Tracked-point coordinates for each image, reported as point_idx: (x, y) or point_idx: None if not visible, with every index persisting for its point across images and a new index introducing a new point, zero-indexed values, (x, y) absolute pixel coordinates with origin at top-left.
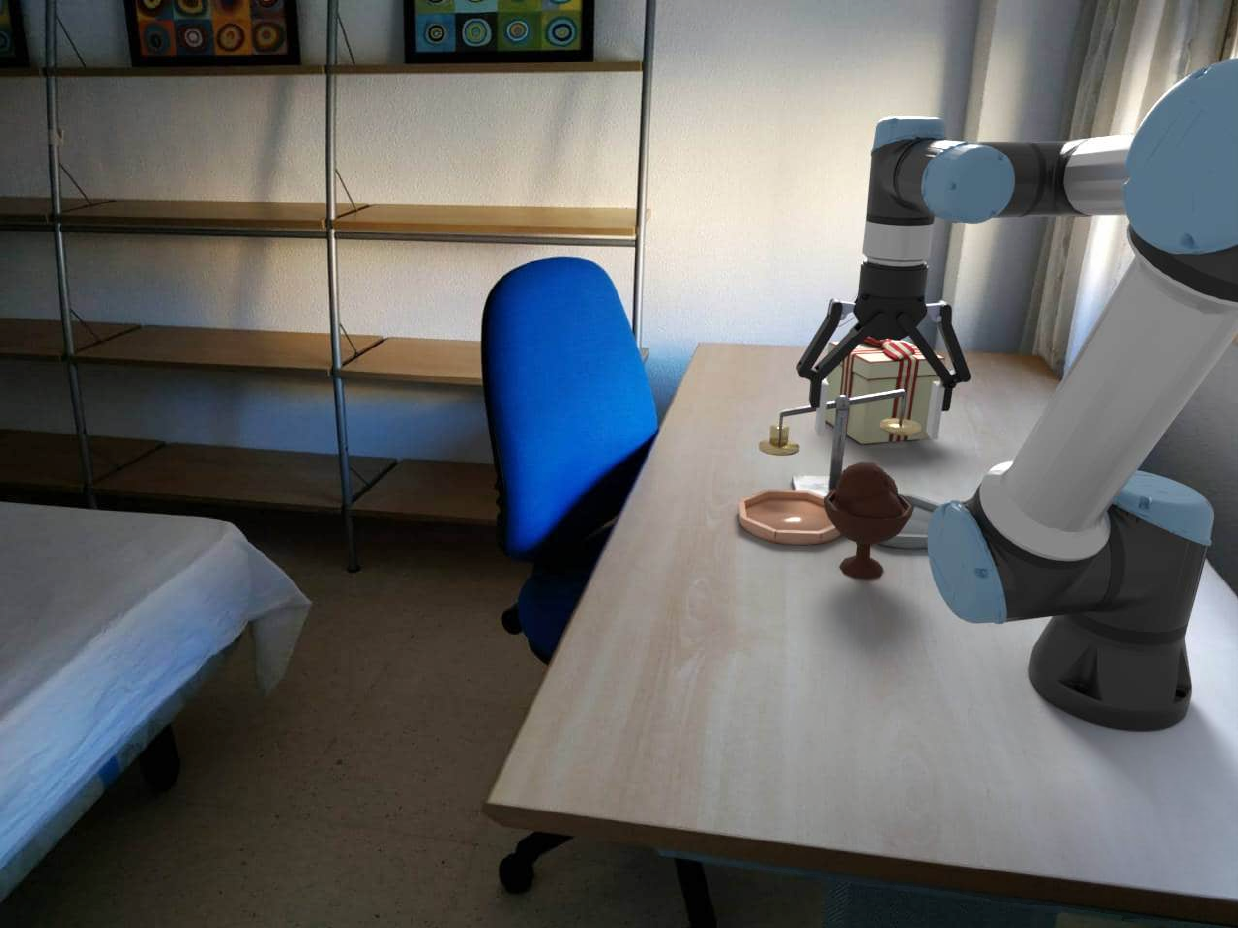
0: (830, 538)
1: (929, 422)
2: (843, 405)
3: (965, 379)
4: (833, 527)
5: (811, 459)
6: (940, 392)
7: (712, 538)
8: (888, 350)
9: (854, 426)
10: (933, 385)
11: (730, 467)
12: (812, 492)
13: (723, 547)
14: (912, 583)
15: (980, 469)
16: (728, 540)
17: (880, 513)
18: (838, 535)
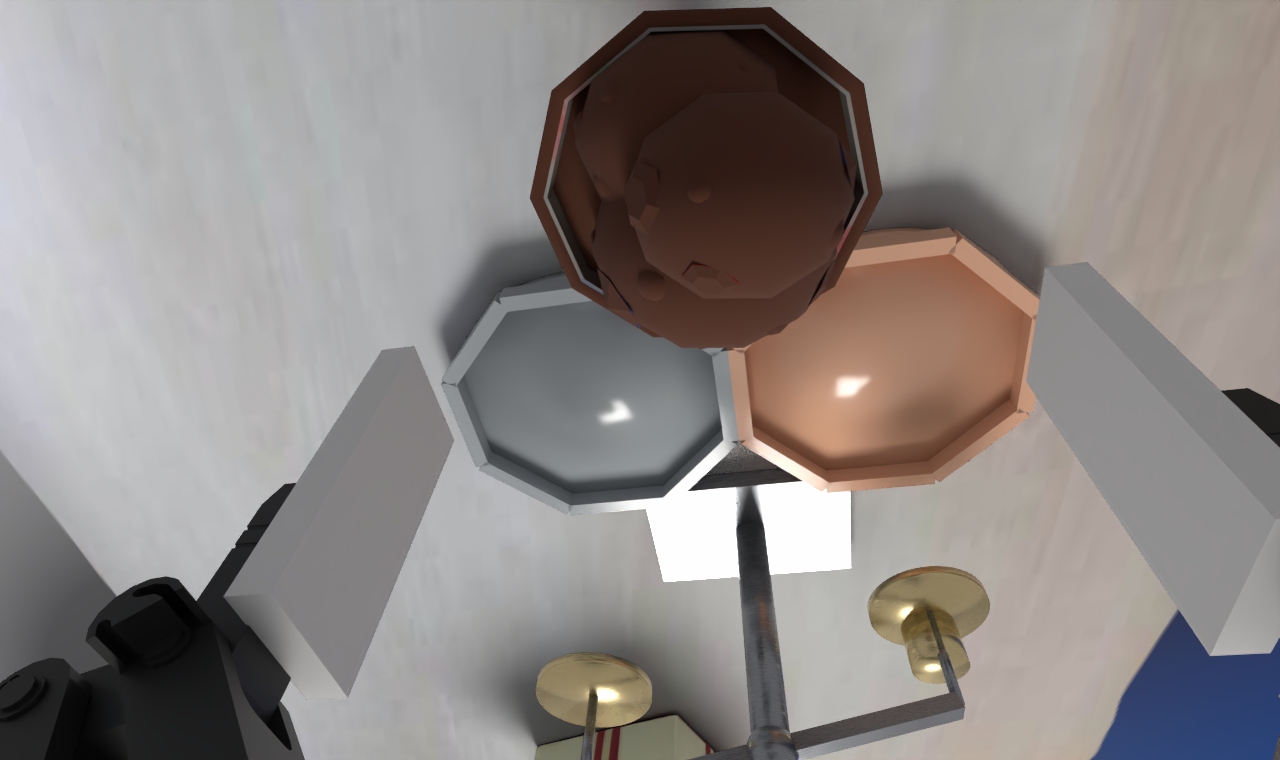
0: None
1: (419, 450)
2: (771, 739)
3: (32, 676)
4: None
5: (787, 651)
6: (268, 562)
7: (1139, 217)
8: None
9: (692, 757)
10: (342, 655)
11: (988, 598)
12: (813, 485)
13: (1118, 164)
14: (547, 52)
15: (433, 653)
16: (1089, 215)
17: (663, 39)
18: None
